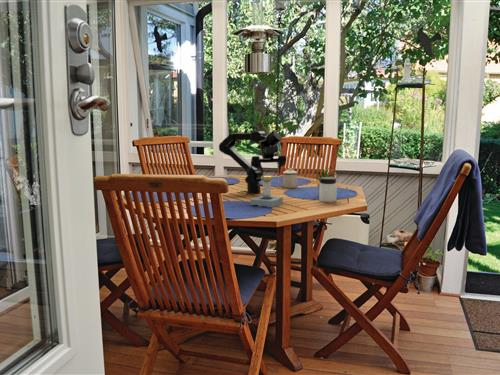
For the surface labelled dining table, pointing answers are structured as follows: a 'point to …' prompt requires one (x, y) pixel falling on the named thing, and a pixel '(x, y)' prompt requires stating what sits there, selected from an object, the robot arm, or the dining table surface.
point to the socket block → (267, 201)
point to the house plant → (323, 175)
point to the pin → (266, 187)
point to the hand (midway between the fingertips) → (271, 173)
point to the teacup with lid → (289, 178)
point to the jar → (327, 189)
